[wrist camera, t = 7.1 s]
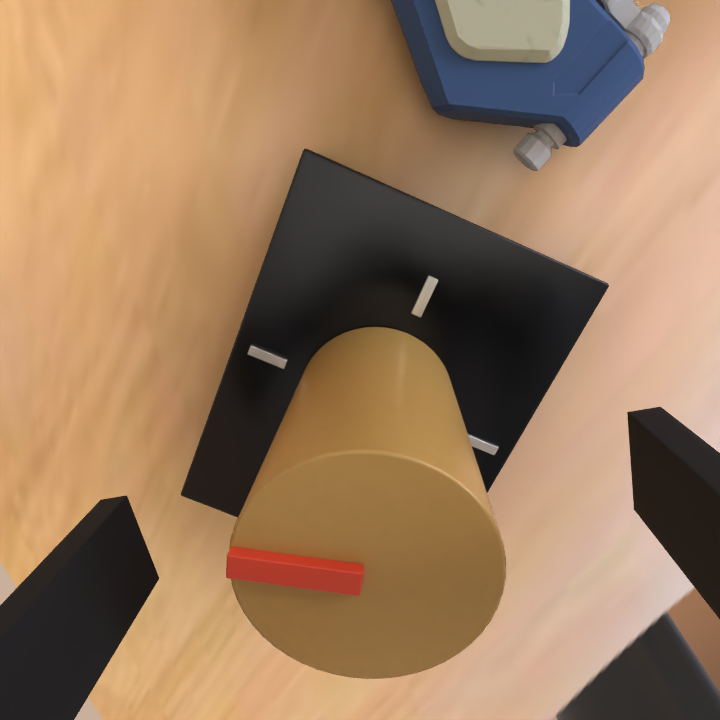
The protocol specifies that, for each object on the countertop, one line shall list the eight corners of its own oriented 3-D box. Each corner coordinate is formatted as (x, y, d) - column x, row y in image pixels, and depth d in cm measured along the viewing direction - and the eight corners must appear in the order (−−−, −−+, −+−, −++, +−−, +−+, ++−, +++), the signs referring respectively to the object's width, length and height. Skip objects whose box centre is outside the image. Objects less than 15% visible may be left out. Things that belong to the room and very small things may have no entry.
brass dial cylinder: (465, 337, 18) (540, 481, 9) (438, 477, 20) (479, 709, 11) (306, 316, 18) (229, 439, 9) (293, 457, 20) (218, 673, 11)
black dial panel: (425, 544, 24) (430, 594, 21) (204, 458, 24) (177, 498, 21) (579, 270, 20) (612, 285, 17) (316, 153, 19) (302, 146, 16)
